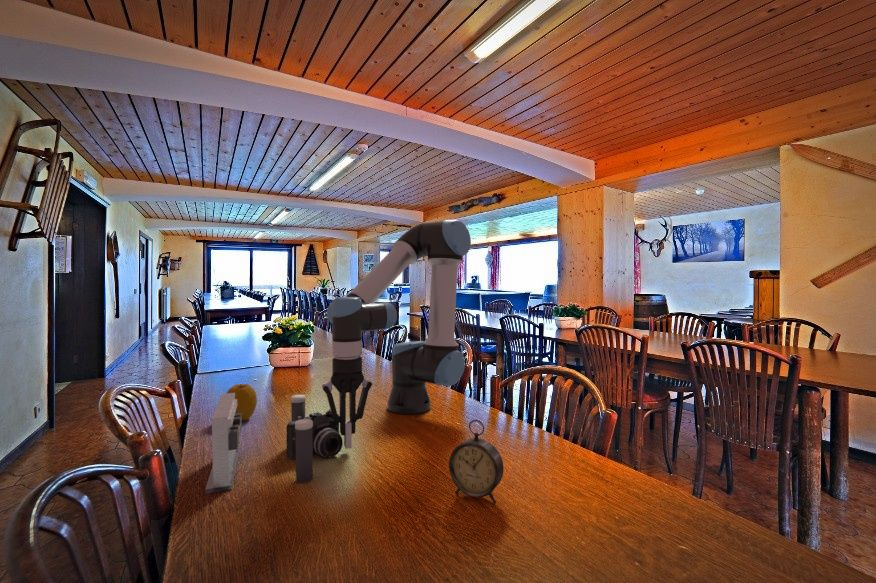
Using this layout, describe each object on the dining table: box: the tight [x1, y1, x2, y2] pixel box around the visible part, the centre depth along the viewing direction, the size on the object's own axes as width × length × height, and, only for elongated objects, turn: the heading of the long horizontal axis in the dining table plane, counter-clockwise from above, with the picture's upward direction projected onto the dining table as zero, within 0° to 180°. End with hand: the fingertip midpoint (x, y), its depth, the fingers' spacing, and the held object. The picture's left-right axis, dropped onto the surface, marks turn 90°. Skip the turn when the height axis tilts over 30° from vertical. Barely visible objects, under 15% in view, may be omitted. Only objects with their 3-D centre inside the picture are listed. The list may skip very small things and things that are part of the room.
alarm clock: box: [448, 419, 505, 505], centre depth 88 cm, size 11×5×16 cm, turn 62°
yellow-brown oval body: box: [226, 383, 258, 422], centre depth 135 cm, size 10×10×12 cm
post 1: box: [290, 394, 306, 421], centre depth 115 cm, size 4×4×13 cm
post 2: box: [295, 419, 314, 484], centre depth 95 cm, size 4×4×13 cm
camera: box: [285, 408, 344, 461], centre depth 109 cm, size 14×11×10 cm
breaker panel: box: [204, 392, 243, 495], centre depth 99 cm, size 6×20×16 cm, turn 22°
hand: (347, 446), depth 110 cm, fingers closed
